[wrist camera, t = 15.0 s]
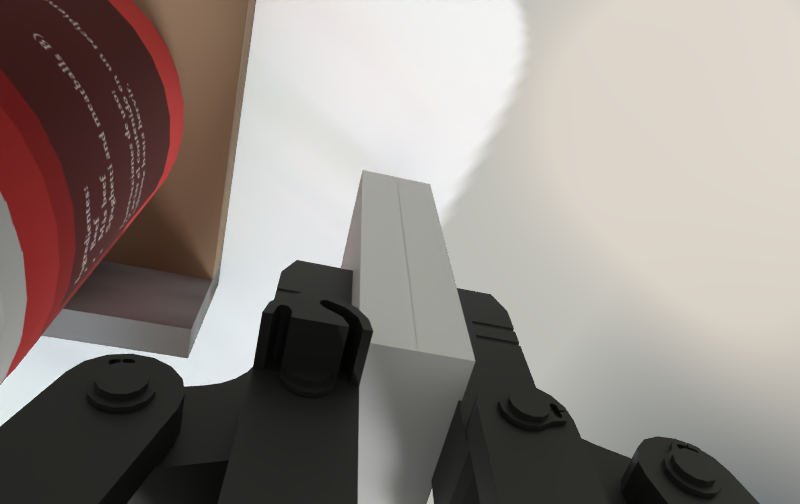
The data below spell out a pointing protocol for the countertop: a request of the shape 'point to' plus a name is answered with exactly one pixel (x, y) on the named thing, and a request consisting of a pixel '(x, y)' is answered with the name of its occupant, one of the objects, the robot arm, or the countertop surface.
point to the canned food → (74, 148)
